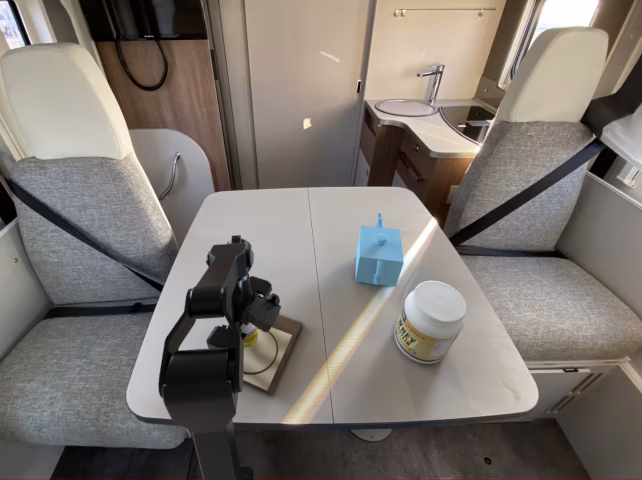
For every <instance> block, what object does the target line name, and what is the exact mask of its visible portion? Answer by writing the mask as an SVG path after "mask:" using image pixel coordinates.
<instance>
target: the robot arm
mask: <svg viewBox="0 0 642 480" xmlns="http://www.w3.org/2000/svg"><path fill="white" fill-rule="evenodd" d="M254 258H255V254H254V251H253V250H252V244H251V243H250V242H249V241H248V240H247V239H244V238H242V235H241V234H236V235H231V239H230V240H228V241H227V242H226V243H222V244H220V243H219V244H213V245H212V246H211V248H210V251H208V253H207V255H206V258H205V264H206V265H207V267H208V268H207V269H206V270H205V271H204V273H203V275H202V276H201V278H200V279H199V281H198V282H197V284H196V285H195V286H193V288H189V289H187V291H186V294H185V299H184V300H185V301H184V309H183V312H182V314H181V315H180V317H179V318H178V319H177V321H176V322H175V324H174V325H173V327H172V328H171V330H170V331H169V332H168V334H167V336H166V337H165V339H164V343H163V349H162V356H161V361H160V362H161V363H160V368H159V373H158V374H159V375H158V376H159V377H158V383H157V385H158V387H157V388H158V394H159V397H160V398H161V399H162V403H163V404H164V407H165V409H166V411H167V413H168V415H169V417H170V419H171V421H172V422H175V423H176V424H177V425H180V426H181V427H183V428H185V429H187V430H189V431H190V432H191V435H192V436H191V437H192V440H193V444H194V448H195V453H196V457H197V459H198V463H199V469H200V472H201V476H202V480H255V479H254V478H255V477H254V470H253V468H252V467H251V465H242V466H241V463H240V458H239V452H238V445H237V440H236V433H235V427H234V422H233V419H234V418H235V416H236V415H237V408H238V398H239V393H242V392H243V389H244V381H243V372H244V342H243V340H244V338H245V337H246V335H247V334H246V333H243V332H242V329H241V327H242V325H243V324H245V325H248V324H249V323H251V324H252V325H254V326H256V327H257V328H259V329H261V330H262V331H263V332H268V331H269V330H270V329H271V327H272V326H273V324H274V322H275V320H276V318H277V316H278V315H280V312H281V309H282V305H280V303H281V299H280V296H279V295H278V294H276V293H275V292H273V293H272V291H273V285H272V283H271V282H270V281H269V280H267V279H265V278H261V277H258V276H254V275H250V274H249V273H250V270H251V268H253V265H254V261H255V259H254ZM220 318H225V319H226V322H227V323H228V325H226V324H222V325H216V326H214V328H213V330H212V331H211V332H210V333H209V335H208V337H207V338H206V339H205V342H206V346H207V348H196V349H183V350H181V349H180V347H181V345H182V344H183V343H184V341H185V339H187V336H188V335H189V334H190V332H191V330H192V329H193V327H194V326H195V324H196V322H197V320H204V319H205V320H206V319H207V320H208V319H220Z"/></svg>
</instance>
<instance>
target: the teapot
mask: <svg viewBox="0 0 642 480" xmlns="http://www.w3.org/2000/svg"><path fill="white" fill-rule="evenodd" d="M400 230H401V229H400V228H391V227H383V215H382V213H380V212H379V213H377V215H376V221H375V224H374V226H372V225H363V224H360V226H359V232H358V237H357V243H356V252H355V253H356V254H355V276H354V279H355V280H354V282H356V283H364V284H372V285H374V286H375V285H376V286H377V285H379V286H386V287H394V288H397V284H398V281H399V278H400V275H401V272H402V269H403V266H404V263H405V262H404V256H403V255H404V254H403V246H402V245H403V244H402V237H401V231H400Z"/></svg>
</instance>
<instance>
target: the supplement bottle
mask: <svg viewBox="0 0 642 480" xmlns="http://www.w3.org/2000/svg"><path fill="white" fill-rule="evenodd" d="M241 329H242V332H243V333H246V334H247V335H246V337H245V338H244V340H243V342H244V348H250V347H252V346H254V345H255V344H256V342H257V340H258V331H257V327H256V326H254V325H252V324H251V323H249V324H248V325H245V324H243V325H242V327H241Z"/></svg>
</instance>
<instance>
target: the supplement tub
mask: <svg viewBox="0 0 642 480" xmlns="http://www.w3.org/2000/svg"><path fill="white" fill-rule="evenodd" d="M467 309H468V308H467V302H466V301H465V299H464V296H463V295H462V294H461V293H460V292H459V291H458V290H457V289H455V288H454V287H453V286H451V285H449V284H447V283H445V282H442V281H439V280H426V281H422V282H420V283H419V284H417V285H416V287H415V288H414V289H413V290H412V291H411V292H410V293H409V294H408V295H407V296H406V297H405V300H404V304H403V306H402V308H401V311H400V313H399V316H398V319H397V321H396V323H395V326H394V339H395V342H396V344H397V346H398V348H399V349H400V351H401V352H402V353H403V354H404V355H405V356H407V357H408V358H409V359H411V360H413V361H415V362H417V363H421V364H427V365H429V364H435V363H438V362H440V361H441V360H443V358H445V357H446V355H447V353H448V352H449V351H450V350H451V347H452V346H453V345H454V342H455V341H456V340H457V338H458V337H459V335H460V333H461V332H462V331H463V329H464V326H465V322H466V317H465V316H466V313H467Z"/></svg>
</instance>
